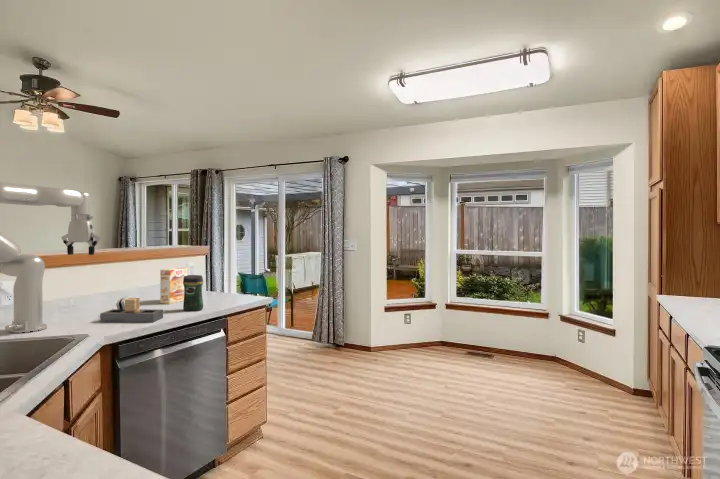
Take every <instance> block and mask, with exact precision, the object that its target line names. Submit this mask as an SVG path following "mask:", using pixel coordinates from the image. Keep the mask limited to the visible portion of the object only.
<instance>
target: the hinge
mask: <svg viewBox="0 0 720 479" xmlns="http://www.w3.org/2000/svg"><path fill="white" fill-rule="evenodd" d="M128 298H136V297H135V295H126V296H124V297H121V298H119V299H118V300H117V302H116V303H115V304H116V305H115V306H116V309H125V299H128ZM140 309H144V308H143V307H142V306H140Z"/></svg>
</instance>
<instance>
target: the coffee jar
mask: <svg viewBox="0 0 720 479" xmlns="http://www.w3.org/2000/svg"><path fill="white" fill-rule="evenodd" d="M203 284H204V280H203V276H202V275H201V274H200V275H199V274H188V275H187V276H184V279H183V285H184V301H183V305H182V307H183V311H186V312H196V311H202V310H203V309H204V299H203V292H202V291H203V290H202V289H203Z"/></svg>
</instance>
